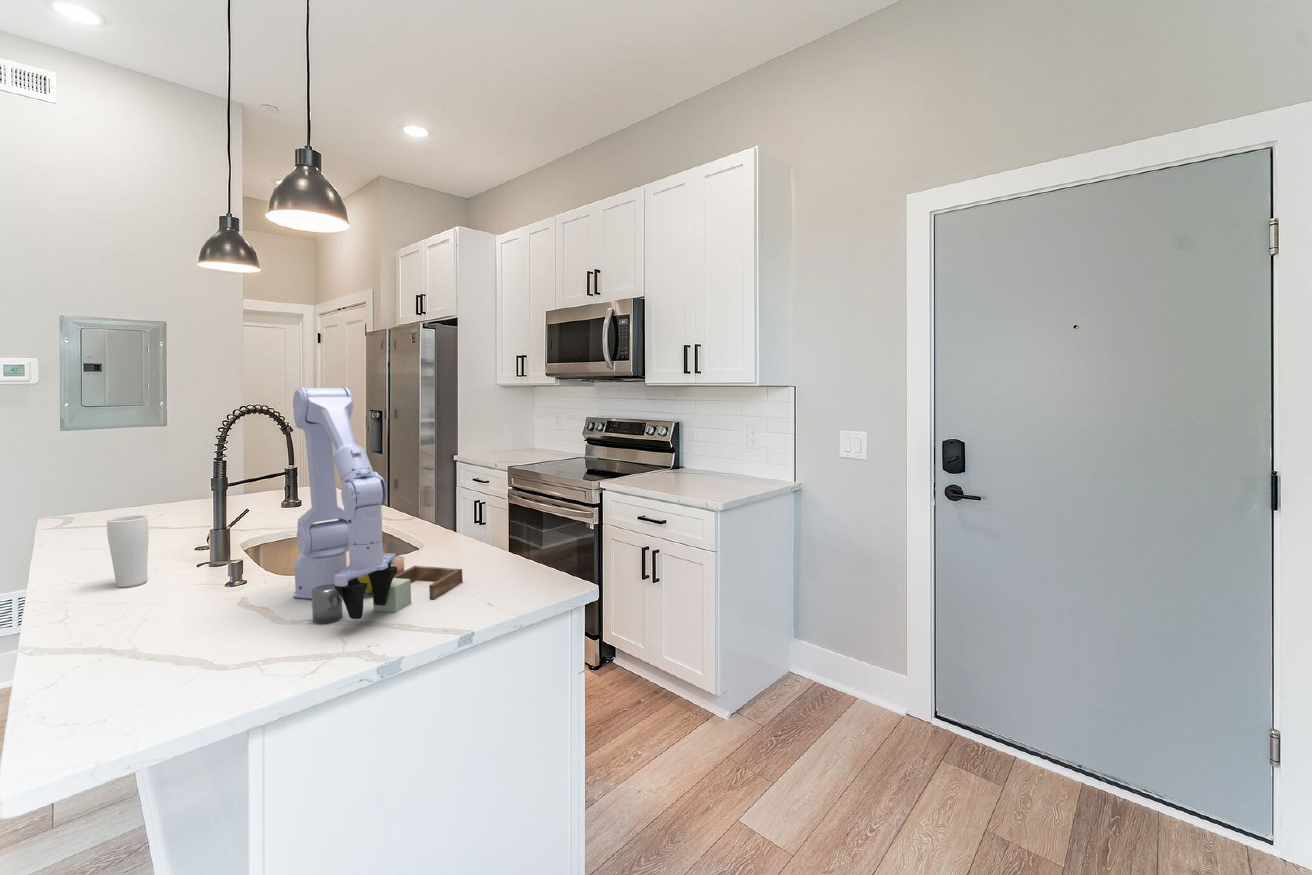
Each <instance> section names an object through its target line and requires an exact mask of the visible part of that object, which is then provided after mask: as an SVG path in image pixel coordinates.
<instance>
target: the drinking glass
mask: <svg viewBox="0 0 1312 875" xmlns="http://www.w3.org/2000/svg"><path fill="white" fill-rule="evenodd" d="M148 523H149V522H148V516H147V515H143V514H135V515H134V514H133V515H131V514H130V515H124V516H123V515H122V516H117V517H112V518H108V519H107V520H106V530H107V531H106V534H107V542H108V546H109V550H110V551H109V553H110V556H111V562H112V567H113V568H112V569H113V574H114V580H115V585H116V586H117V587H118V588H131V587H132V588H133V587H137V586H141V585H143V584H145V583H146V582H148V554H149V524H148Z"/></svg>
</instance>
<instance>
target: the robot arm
mask: <svg viewBox="0 0 1312 875" xmlns="http://www.w3.org/2000/svg"><path fill="white" fill-rule="evenodd" d="M292 407H293V419H294V420H293V421H294V423H295V427H296V428H297V429H300V430H302V431H303V432H304V433H303V434H304V437H305V442H306V446H305V447H306V457H307V458H306V459H307V467H308V479H309V489H310V490H309V491H310V492H309V493H310V501H311V502H310V503H311V507H310V508H309V509H308V510H307V511H306V512H305V513H304V514H302V515H301V516H300V517H299V518H298V519H297V530H296V544H297V549H298V551H299V552H300V555H299V556H297V559H296V560H295V564H294V583H295V584H294V585H295V593H294V594H293V595H292V598H295V599H296V598H298V599H299V598H300V599H307V600H309V599H311V600H312V592H311V590H312V589H313V588H315V587H318V586H322V585H328V584H334V588H335V589H336V590H337V592H338V593H339V594H340V596H341V597H342V602H343V603H344V605H345V607H346V610H347V613H348V616H349V619H352V620H360V619H362V618H363V613H364V599H365V594H366V592H367V591H366V588H367V585H368V583H360V581H358V578H360V577H363V576H365V575H367V574H368V576H369V579H370V582H371V586H372V593H373V594H372V601H374V604H375V605H381V606H384V605H386V602H387V597H388V593H389V589H390V586H391V583H392V580H393V578H394V576H395V574H396V573H397V567H395V566H390V564H395V563H396V558H395V556H396V553H388V552H387V553H384V545H383V542H384V541H383V521H382V520H383V518H382V512H383V511H382V507H383V506H384V505H385V504H386V502H387V496H388V493H387V491H388V490H387V486H386V483H385V480H384V478H383V477H382V476H381V475H379V472H377V471H374V470H373V467H372V465H371V462H370V459H369V457H368V454H367V451H366V450H365V448H364V447H362V446H361V445H357V443H356V438H355V436H354V432H353V431H354V430H353V429H352V428H353V427H352V425H351V421H350V420H351V417H352V413H353V411H354V410H353V409H354V397H353V394H352V392H351V391H350V389H349V387H345V386H344V387H303V386H300V387H299V386H298V388H297V389H296V390H295V391H294V393H293V398H292ZM333 446H334V448H335V452H334V448H333ZM335 469H336V471H337V473H338V477H339V478H340V482H341V486H342V487H341V493H340V494H341V495H340V497H341V501H342V506H343V508H342V507H340V506H338V498H337V486H336V485H337V484H336V473H335ZM325 521H326V522H325ZM318 522H319V523H318ZM347 552H348V556H349V558H348V560H349V565H347Z"/></svg>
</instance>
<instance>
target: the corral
mask: <svg viewBox="0 0 1312 875" xmlns="http://www.w3.org/2000/svg"><path fill="white" fill-rule="evenodd" d="M394 578H400V579H410V580H411V584H412V583H414V582H416V581H423V582H425V581H426V582H432V583H431V584H429V585H428V588H429V600H431V601H432V600H436V599H438V598H439V597H440V596H442V595H444V594H445V593H447V592H449V591H450V590H452V589H454V588H455V587H457V586H459V585H460V584H462V583H463V568H451V567H450V568H449V567H439V566H426V565H425V566H423V565H422V566H421V565H414V566H411V567H410V568H407V569H404V571H403V572H401V573H399V574H397V575H395V576H394Z"/></svg>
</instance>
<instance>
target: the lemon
mask: <svg viewBox="0 0 1312 875" xmlns="http://www.w3.org/2000/svg"><path fill="white" fill-rule="evenodd" d="M358 581H360V583H368V585H367V588H366V591H365V592H368V593H369V594H371V595H373V593H372V586H371V582H370V579H369V576H368V574H367V575H365V576H363V577H360V578H358Z"/></svg>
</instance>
